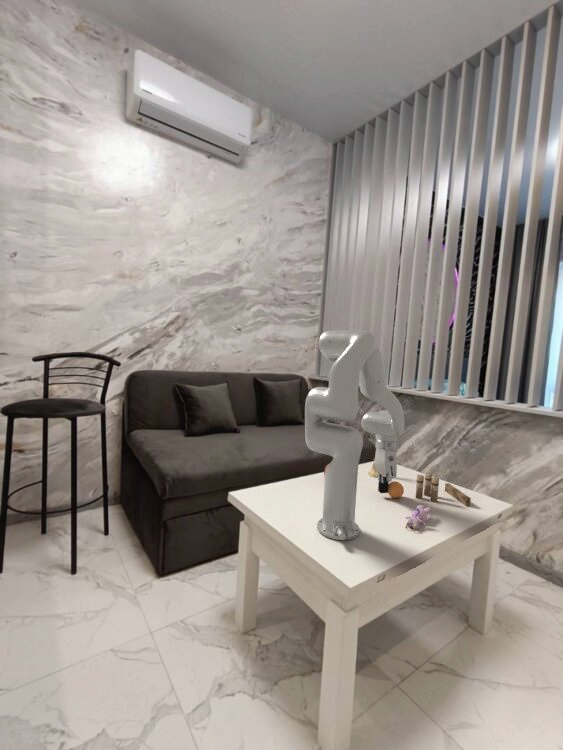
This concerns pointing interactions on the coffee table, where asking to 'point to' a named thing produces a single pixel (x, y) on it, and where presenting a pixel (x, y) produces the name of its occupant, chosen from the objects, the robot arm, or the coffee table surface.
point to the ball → (395, 489)
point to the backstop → (457, 494)
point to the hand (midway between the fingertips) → (382, 492)
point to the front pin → (419, 486)
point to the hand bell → (373, 471)
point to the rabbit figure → (418, 517)
